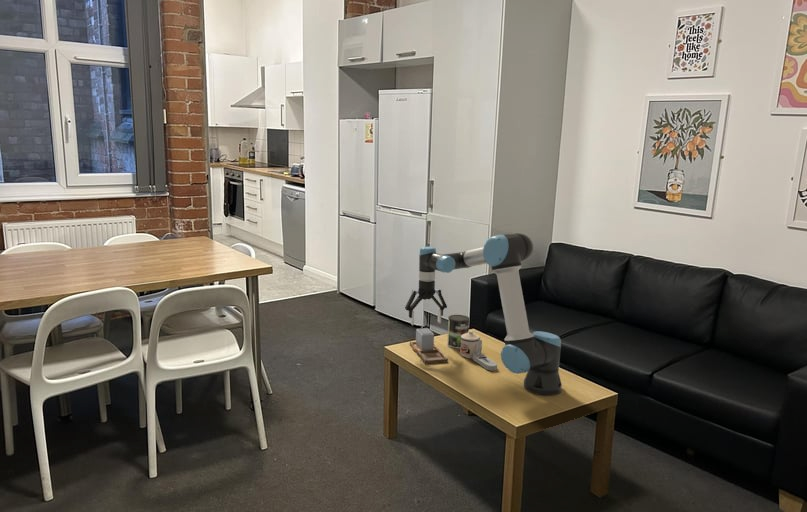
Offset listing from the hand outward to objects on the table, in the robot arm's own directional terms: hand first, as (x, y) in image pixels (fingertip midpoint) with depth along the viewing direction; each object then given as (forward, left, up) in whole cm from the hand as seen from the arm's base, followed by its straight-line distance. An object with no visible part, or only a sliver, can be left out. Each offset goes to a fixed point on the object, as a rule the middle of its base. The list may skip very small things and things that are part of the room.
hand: (425, 323), depth 268 cm
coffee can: (+2, -18, -13) cm, 22 cm away
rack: (-6, 0, -13) cm, 14 cm away
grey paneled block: (0, 0, -12) cm, 12 cm away
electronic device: (-24, -21, -13) cm, 34 cm away
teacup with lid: (-13, -19, -13) cm, 26 cm away
